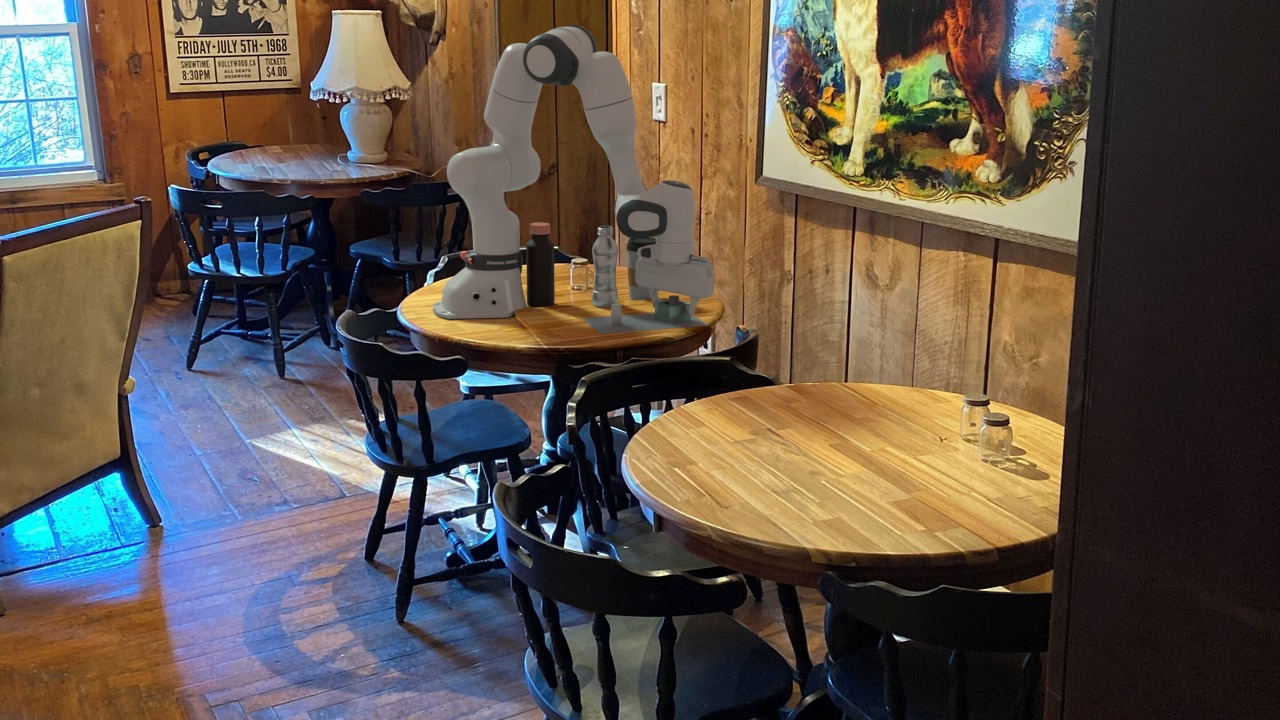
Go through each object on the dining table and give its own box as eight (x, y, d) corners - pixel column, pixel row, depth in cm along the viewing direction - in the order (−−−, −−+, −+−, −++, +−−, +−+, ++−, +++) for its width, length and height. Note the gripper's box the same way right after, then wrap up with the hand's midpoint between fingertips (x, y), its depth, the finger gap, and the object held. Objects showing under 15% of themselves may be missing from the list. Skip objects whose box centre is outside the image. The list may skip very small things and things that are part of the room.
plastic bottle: (619, 305, 290) (620, 225, 284) (616, 312, 283) (617, 230, 278) (593, 304, 290) (594, 224, 285) (589, 311, 284) (590, 229, 278)
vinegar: (548, 309, 286) (547, 227, 280) (522, 306, 288) (521, 225, 282) (558, 302, 292) (558, 222, 286) (533, 300, 294) (532, 220, 288)
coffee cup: (645, 304, 292) (646, 244, 287) (618, 299, 296) (619, 240, 292) (665, 298, 298) (666, 239, 294) (638, 293, 303) (639, 235, 298)
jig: (600, 338, 262) (600, 309, 260) (582, 322, 274) (582, 295, 272) (708, 329, 270) (709, 301, 268) (686, 314, 282) (687, 288, 281)
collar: (672, 324, 270) (672, 307, 269) (654, 319, 274) (654, 302, 273) (691, 320, 274) (691, 303, 273) (673, 314, 278) (674, 298, 277)
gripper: (720, 256, 266) (718, 315, 270) (648, 244, 278) (647, 301, 282) (704, 260, 261) (702, 321, 265) (631, 248, 273) (630, 306, 277)
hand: (673, 310), depth 273 cm, fingers open, 8 cm apart
